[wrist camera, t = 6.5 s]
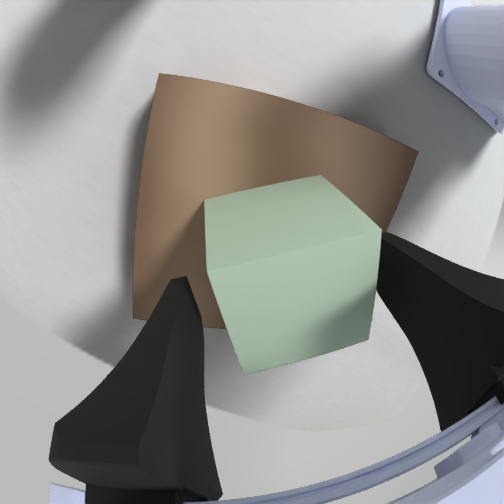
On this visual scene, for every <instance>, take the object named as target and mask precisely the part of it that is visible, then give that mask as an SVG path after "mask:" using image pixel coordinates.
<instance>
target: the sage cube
mask: <svg viewBox="0 0 504 504" xmlns="http://www.w3.org/2000/svg"><path fill="white" fill-rule="evenodd" d="M204 208H205V240H206V263H207V274H208V277H209V280H210V283H211V285H212V288H213V291H214V294H215V297H216V300H217V303H218V306H219V308H220V311H221V314H222V317H223V320H224V322H225V325H226V328H227V331H228V333H229V336H230V339H231V341H232V344H233V347H234V350H235V352H236V355H237V357H238V360H239V363H240V365H241V368H242V371H243V373H244V375H245V374H250V373H255V372H259V371H263V370H267V369H272V368H276V367H280V366H284V365H288V364H291V363H295V362H299V361H302V360H306V359H310V358H313V357H317V356H320V355H323V354H327V353H330V352H333V351H336V350H339V349H343V348H346V347H349V346H352V345H355V344H358V343H361V342H363V341H366V340H368V339H369V333H370V327H371V321H372V315H373V308H374V301H375V294H376V286H377V278H378V268H379V258H380V247H381V233H382V229H381V228H380V227H379V226H378V225H376V224H375V223H374V222H373V221H372V220H371V219H370V218H369V217H368V216H367V215H366V214H365V213H364V212H363V211H362V210H360V209H359V208H358V207H357V206H356V205H355V204H354V203H353V202H352V201H351V200H349V199H348V198H347V197H346V196H345V195H344V194H343V193H342V192H340V191H339V190H338V189H337V188H336V187H335V186H334V185H332V184H331V183H330V182H329V181H328V180H327V179H325V178H324V177H323V176H322V175H316V176H311V177H306V178H301V179H296V180H291V181H286V182H281V183H276V184H271V185H266V186H262V187H257V188H253V189H248V190H244V191H239V192H235V193H231V194H227V195H222V196H218V197H214V198H210V199H206V200H204Z"/></svg>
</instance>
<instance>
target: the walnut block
mask: <svg viewBox="0 0 504 504" xmlns="http://www.w3.org/2000/svg"><path fill="white" fill-rule="evenodd" d="M417 154H418V151H416V150H414V149H412V148H410V147H408V146H406V145H404V144H402V143H400V142H398V141H396V140H394V139H392V138H389V137H387V136H385V135H383V134H380V133H378V132H376V131H374V130H371V129H369V128H366V127H364V126H362V125H359V124H357V123H354V122H352V121H349V120H347V119H344V118H341V117H339V116H336V115H333V114H330V113H328V112H325V111H322V110H319V109H316V108H313V107H310V106H307V105H304V104H301V103H298V102H294V101H291V100H288V99H284V98H281V97H277V96H274V95H270V94H266V93H262V92H258V91H254V90H250V89H246V88H242V87H238V86H233V85H228V84H224V83H219V82H213V81H208V80H202V79H197V78H190V77H184V76H177V75H169V74H161V73H159V76H158V80H157V84H156V89H155V93H154V98H153V103H152V108H151V113H150V118H149V124H148V129H147V135H146V141H145V148H144V154H143V161H142V168H141V176H140V185H139V194H138V203H137V214H136V227H135V243H134V264H133V318H134V319H141V320H148V319H149V317H150V315H151V314H152V312H153V310H154V308H155V307H156V305H157V303H158V301H159V299H160V297H161V296H162V294H163V292H164V290H165V288H166V286H167V285H168V283H169V281H170V280H171V279H174V278H179V277H183V276H187V278H188V281H189V284H190V286H191V289H192V292H193V295H194V297H195V300H196V303H197V306H198V308H199V311H200V314H201V317H202V325H203V327H209V328H220V329H227V328H226V325H225V322H224V320H223V317H222V314H221V311H220V308H219V306H218V303H217V300H216V297H215V294H214V291H213V288H212V285H211V283H210V280H209V277H208V274H207V263H206V240H205V208H204V200H206V199H210V198H214V197H218V196H222V195H227V194H231V193H235V192H239V191H244V190H248V189H253V188H257V187H262V186H266V185H271V184H276V183H281V182H286V181H291V180H296V179H301V178H306V177H311V176H316V175H322V176H323V177H324V178H325V179H327V180H328V181H329V182H330V183H331V184H332V185H334V186H335V187H336V188H337V189H338V190H339V191H340V192H342V193H343V194H344V195H345V196H346V197H347V198H348V199H349V200H351V201H352V202H353V203H354V204H355V205H356V206H357V207H358V208H359V209H360V210H362V211H363V212H364V213H365V214H366V215H367V216H368V217H369V218H370V219H371V220H372V221H373V222H374V223H375V224H376V225H378V226H379V227H380V228H381V229H382V233H385V232H386V230H387V228H388V226H389V224H390V221H391V219H392V217H393V215H394V212H395V210H396V208H397V205H398V203H399V201H400V198H401V196H402V193H403V191H404V188H405V186H406V184H407V181H408V178H409V176H410V173H411V171H412V168H413V165H414V163H415V160H416V157H417Z"/></svg>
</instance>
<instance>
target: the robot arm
mask: <svg viewBox="0 0 504 504" xmlns="http://www.w3.org/2000/svg"><path fill="white" fill-rule="evenodd" d="M426 69H427V72H428V74H429V75H430V76H431V77H432V78H434V79H435V80H436V81H438V82H439V83H441V84H442V85H443V86H445V87H446V88H447V89H449V90H450V91H451V92H452V93H454V94H455V95H456V96H457V97H459V98H460V99H461V100H462V101H464V102H465V103H466V104H467V105H468V106H469V107H471V108H472V109H473V110H474V111H475V112H476V113H477V114H479V115H480V116H481V117H482V118H483V119H484V120H485V121H486V122H487V123H488V124H489V125H490V126H492V127H493V128H494V129H495V130H496V131H497V132H498V133H500V134H502V133H503V132H504V5H474V4H473V3H472V2H471V1H470V0H440V6H439V12H438V17H437V22H436V27H435V32H434V37H433V41H432V46H431V50H430V54H429V58H428V62H427V68H426ZM439 72H440V76H439V74H438V73H439ZM376 290H377V292H378V294H379V296H380V297H381V299H382V300H383V302H384V303H385V305H386V306H387V308H388V309H389V311H390V312H391V314H392V315H393V317H394V318H395V320H396V321H397V323H398V324H399V326H400V327H401V329H402V330H403V332H404V333H405V335H406V336H407V338H408V340H409V342H410V343H411V345H412V347H413V349H414V351H415V354H416V356H417V358H418V360H419V362H420V365H421V367H422V369H423V372H424V374H425V377H426V379H427V382H428V385H429V388H430V391H431V394H432V397H433V400H434V404H435V408H436V411H437V416H438V419H439V425H440V429H441V431H442V432H440V433H438V434H437V435H435V436H433V437H431V438H429V439H427V440H425V441H424V442H422V443H420V444H418V445H416V446H414V447H412V448H410V449H408V450H406V451H404V452H401V453H399V454H397V455H395V456H392V457H390V458H388V459H385V460H383V461H381V462H378V463H376V464H373V465H371V466H368V467H366V468H363V469H361V470H358V471H355V472H352V473H349V474H346V475H343V476H340V477H337V478H333V479H330V480H327V481H323V482H320V483H316V484H313V485H309V486H305V487H301V488H297V489H292V490H288V491H283V492H278V493H273V494H267V495H262V496H255V497H248V498H240V499H232V500H223V501H222V500H221V501H218V499H220V497H221V496H222V495H223V493H222V489H221V485H220V481H219V477H218V473H217V469H216V464H215V459H214V454H213V450H212V445H211V439H210V433H209V427H208V421H207V413H206V406H205V395H204V334H203V325H202V317H201V314H200V311H199V308H198V306H197V303H196V300H195V297H194V295H193V292H192V289H191V286H190V284H189V281H188V278H187V276H183V277H179V278H174V279H171V280H170V281H169V283H168V285H167V286H166V288H165V290H164V292H163V294H162V296H161V297H160V299H159V301H158V303H157V305H156V307H155V308H154V310H153V312H152V314H151V315H150V317H149V319H148V321H147V322H146V324H145V326H144V327H143V329H142V330H141V332H140V333H139V335H138V337H137V338H136V340H135V341H134V343H133V344H132V346H131V347H130V348H129V350H128V351H127V352H126V354H125V355H124V356H123V358H122V359H121V360H120V362H119V363H118V364H117V365H116V366H115V368H114V369H113V370H112V371H111V372H110V373H109V374H108V375H107V377H106V378H105V379H104V380H103V381H102V382H101V383H100V384H99V385H98V386H97V388H95V389H94V391H92V393H90V394H89V395H88V396H87V397H86V398H85V399H84V400H83V401H82V402H81V403H80V404H79V405H77V406H76V407H75V408H74V409H73V410H71V411H70V412H69V413H67V414H66V415H65V416H64V417H62V418H61V419H60V420H59V421H57V422H56V423H55V425H54V430H53V436H52V441H51V447H50V454H49V461H50V463H51V464H52V465H53V466H54V467H55V468H56V469H58V470H60V471H61V472H63V473H65V474H67V475H69V476H71V477H73V478H75V479H77V480H79V481H81V482H83V483H85V484H86V491H83V490H80V489H76V488H72V487H67V486H63V485H59V484H54V483H51V484H50V492H49V504H324V503H328V502H331V501H334V500H337V499H341V498H344V497H347V496H350V495H352V494H356V493H358V492H361V491H364V490H366V489H369V488H372V487H374V486H377V485H379V484H382V483H384V482H386V481H389V480H391V479H393V478H395V477H398V476H400V475H402V474H404V473H406V472H408V471H410V470H412V469H414V468H416V467H418V466H420V465H422V464H424V463H426V462H428V461H429V460H431V459H433V458H435V457H437V456H438V455H440V454H442V453H443V452H445V451H447V450H449V449H450V448H452V447H453V446H455V445H456V444H458V443H460V442H461V441H463V440H464V439H466V438H467V437H469V436H470V435H472V436H471V440H470V441H469V442H467V443H466V444H465V445H463V446H461V447H460V448H459V449H457V450H456V451H455V452H454V453H453V454H451V455H450V456H449V457H447V458H446V459H444V460H443V461H442V462H440V463H438V464H437V465H435V467H434V469H435V471H436V474H437V479H435V480H434V481H432V482H430V483H428V484H427V485H424V486H423V487H421V488H419V489H417V490H415V491H413V492H411V493H409V494H407V495H405V496H403V497H401V498H398V499H396V500H394V501H392V502H389V503H387V504H504V279H500V278H496V277H493V276H489V275H486V274H482V273H479V272H476V271H474V270H471V269H468V268H466V267H463V266H460V265H458V264H456V263H453V262H451V261H449V260H447V259H444V258H442V257H440V256H438V255H436V254H434V253H431V252H429V251H427V250H425V249H423V248H421V247H419V246H417V245H415V244H413V243H411V242H409V241H407V240H405V239H402V238H400V237H398V236H396V235H393V234H391V233H388V232H385V233H381V247H380V258H379V268H378V278H377V286H376Z"/></svg>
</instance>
